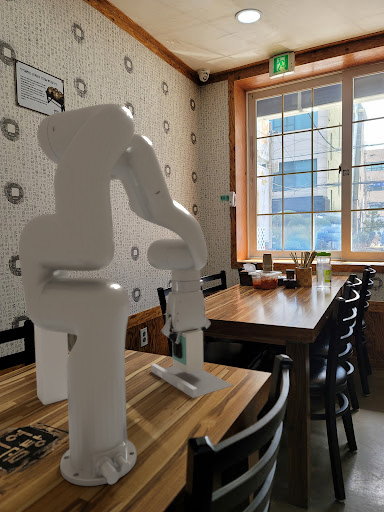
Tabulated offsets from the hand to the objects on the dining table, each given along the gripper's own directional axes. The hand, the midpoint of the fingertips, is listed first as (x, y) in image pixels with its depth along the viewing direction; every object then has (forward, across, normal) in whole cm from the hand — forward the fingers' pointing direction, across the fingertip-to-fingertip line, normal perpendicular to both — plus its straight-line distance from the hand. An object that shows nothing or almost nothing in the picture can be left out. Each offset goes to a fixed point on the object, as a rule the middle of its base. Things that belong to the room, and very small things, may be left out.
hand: (187, 354), depth 97 cm
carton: (+3, 0, 0) cm, 3 cm away
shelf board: (+7, +1, +2) cm, 7 cm away
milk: (+7, +32, -11) cm, 34 cm away
